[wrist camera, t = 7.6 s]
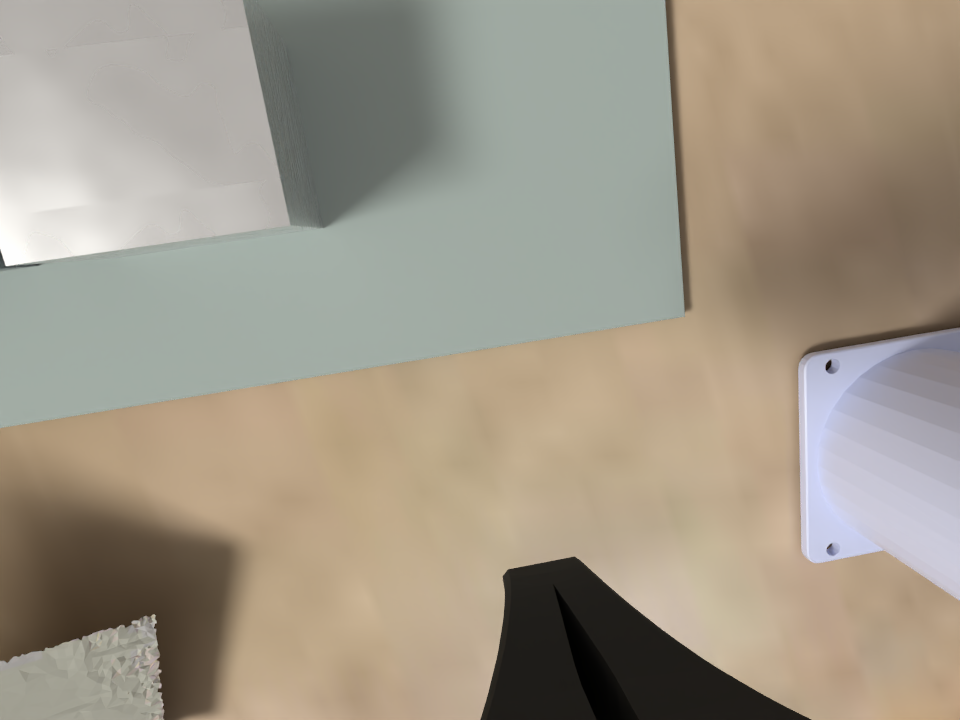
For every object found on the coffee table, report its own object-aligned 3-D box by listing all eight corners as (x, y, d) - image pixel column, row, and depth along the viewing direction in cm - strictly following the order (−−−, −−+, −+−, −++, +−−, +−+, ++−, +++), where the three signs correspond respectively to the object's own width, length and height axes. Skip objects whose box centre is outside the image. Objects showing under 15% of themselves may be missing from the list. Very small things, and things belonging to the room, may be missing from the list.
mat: (652, -95, 16) (658, -103, 16) (679, 314, 19) (684, 316, 19) (-162, -7, 15) (-177, -14, 14) (-8, 426, 18) (-18, 430, 17)
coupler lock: (286, 45, 16) (236, -29, 11) (323, 228, 17) (290, 225, 13) (62, 71, 15) (-79, 6, 11) (115, 258, 16) (5, 265, 12)
